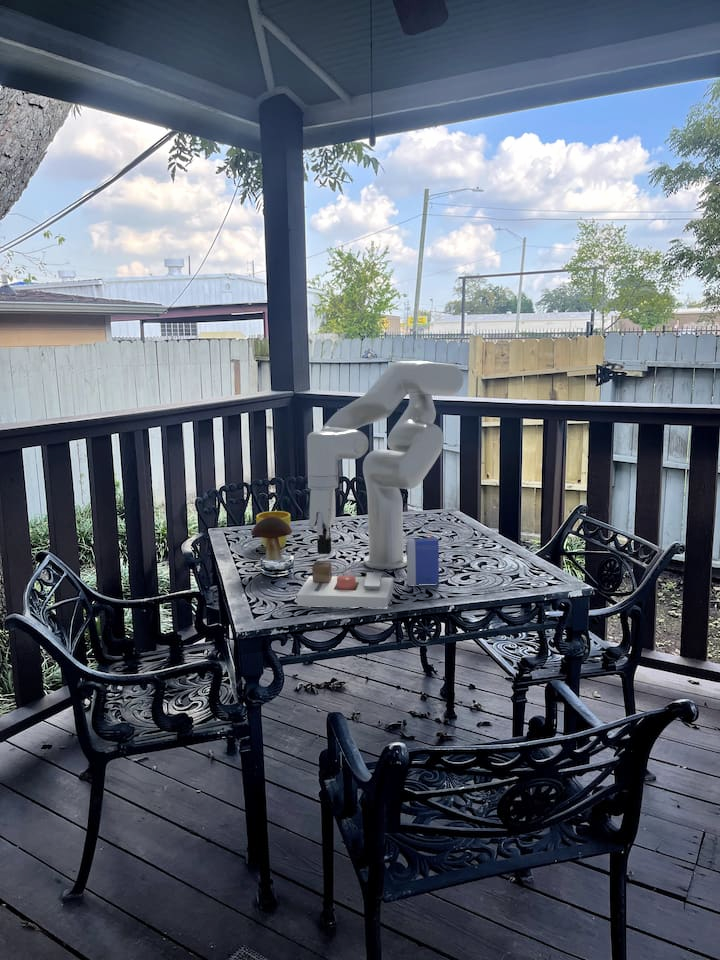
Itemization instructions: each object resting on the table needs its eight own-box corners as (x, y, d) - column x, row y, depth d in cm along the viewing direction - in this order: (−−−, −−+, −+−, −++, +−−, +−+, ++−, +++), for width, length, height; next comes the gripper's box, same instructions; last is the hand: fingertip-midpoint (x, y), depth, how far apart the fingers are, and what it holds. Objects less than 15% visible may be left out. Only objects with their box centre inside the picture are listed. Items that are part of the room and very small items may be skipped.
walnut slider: (315, 577, 162) (315, 561, 161) (331, 577, 161) (331, 562, 161) (313, 581, 159) (312, 566, 158) (329, 582, 158) (328, 566, 157)
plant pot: (294, 540, 205) (293, 510, 203) (288, 550, 195) (286, 519, 193) (262, 540, 206) (260, 510, 204) (254, 550, 196) (252, 519, 194)
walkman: (436, 581, 166) (436, 535, 164) (438, 585, 163) (438, 539, 161) (405, 583, 165) (405, 537, 163) (407, 587, 163) (407, 540, 160)
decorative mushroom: (302, 568, 179) (299, 515, 176) (271, 579, 171) (268, 524, 168) (275, 560, 186) (272, 509, 183) (245, 571, 178) (241, 518, 175)
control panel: (310, 587, 165) (309, 572, 164) (393, 589, 161) (393, 574, 161) (297, 607, 152) (296, 591, 151) (387, 609, 149) (387, 593, 148)
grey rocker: (367, 575, 158) (367, 572, 158) (382, 575, 157) (382, 572, 157) (364, 588, 153) (363, 585, 152) (379, 589, 152) (379, 586, 152)
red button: (339, 586, 159) (338, 574, 158) (357, 586, 158) (356, 575, 158) (335, 593, 155) (335, 581, 154) (354, 593, 154) (353, 581, 153)
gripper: (315, 476, 169) (316, 544, 173) (301, 486, 155) (302, 561, 158) (343, 476, 168) (344, 545, 172) (332, 487, 154) (333, 562, 157)
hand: (324, 552), depth 165 cm, fingers closed
